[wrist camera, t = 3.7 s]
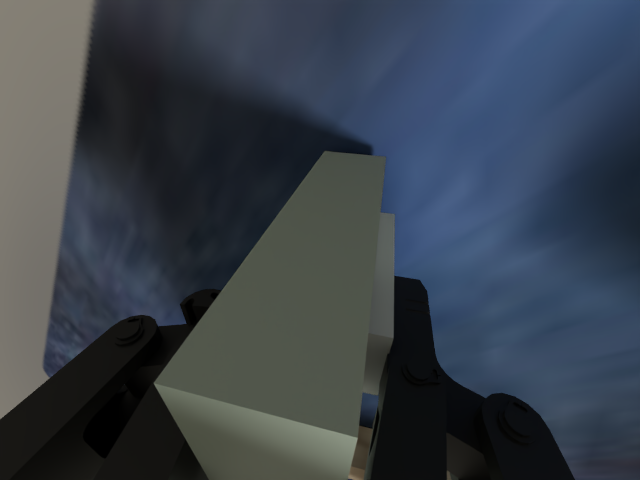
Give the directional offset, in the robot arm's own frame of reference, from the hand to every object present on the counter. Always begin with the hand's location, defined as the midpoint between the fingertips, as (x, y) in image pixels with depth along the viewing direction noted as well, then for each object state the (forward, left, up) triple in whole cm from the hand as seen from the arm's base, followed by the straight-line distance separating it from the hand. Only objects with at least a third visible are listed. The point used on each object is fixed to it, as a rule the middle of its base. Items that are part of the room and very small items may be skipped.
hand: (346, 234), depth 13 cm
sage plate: (+4, +2, 0) cm, 4 cm away
